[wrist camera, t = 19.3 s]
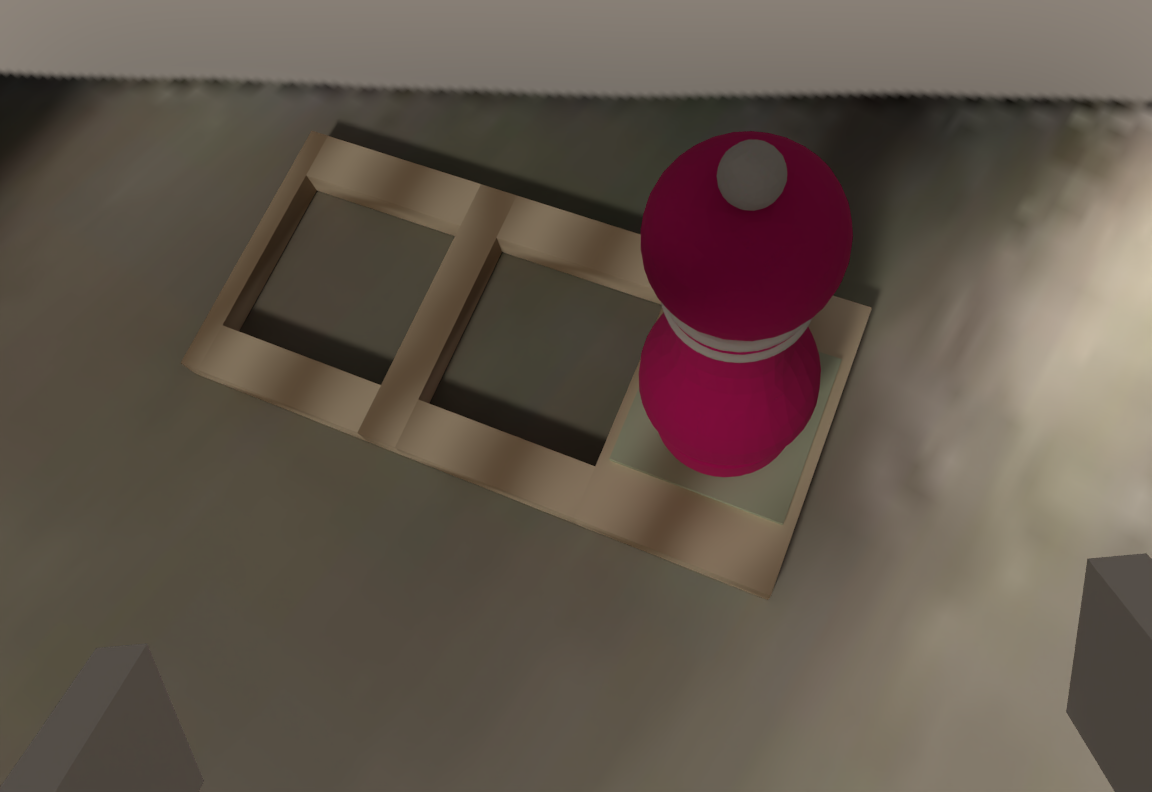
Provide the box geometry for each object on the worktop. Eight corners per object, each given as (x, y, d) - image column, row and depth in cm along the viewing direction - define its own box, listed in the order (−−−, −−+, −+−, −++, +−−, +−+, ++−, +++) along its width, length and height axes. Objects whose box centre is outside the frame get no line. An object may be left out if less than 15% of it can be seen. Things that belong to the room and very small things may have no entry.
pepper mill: (791, 505, 40) (882, 313, 22) (627, 470, 42) (577, 260, 23) (819, 351, 42) (924, 54, 24) (662, 322, 44) (643, 19, 25)
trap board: (195, 373, 48) (177, 360, 46) (321, 147, 51) (309, 127, 50) (767, 599, 41) (771, 594, 39) (866, 321, 45) (873, 305, 43)
